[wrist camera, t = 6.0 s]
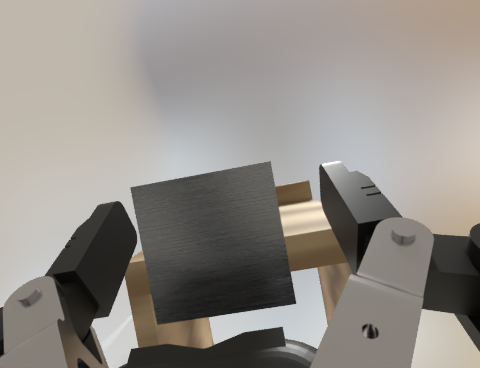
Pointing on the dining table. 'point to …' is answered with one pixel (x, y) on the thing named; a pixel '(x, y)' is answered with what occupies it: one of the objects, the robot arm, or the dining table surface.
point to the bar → (213, 244)
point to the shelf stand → (299, 256)
